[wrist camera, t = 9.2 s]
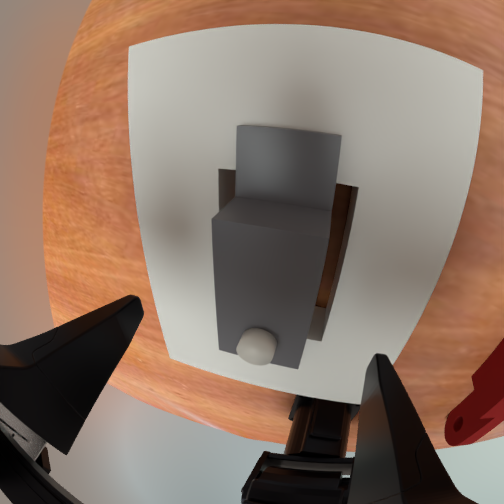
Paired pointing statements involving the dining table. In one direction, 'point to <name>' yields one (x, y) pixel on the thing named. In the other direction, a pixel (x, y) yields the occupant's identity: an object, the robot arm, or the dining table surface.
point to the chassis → (349, 173)
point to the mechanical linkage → (479, 403)
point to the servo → (273, 242)
